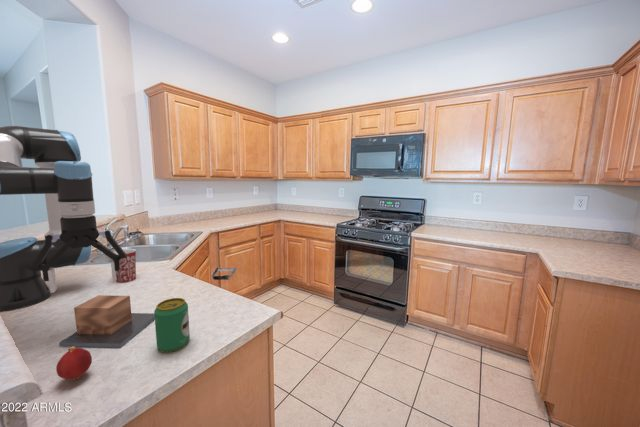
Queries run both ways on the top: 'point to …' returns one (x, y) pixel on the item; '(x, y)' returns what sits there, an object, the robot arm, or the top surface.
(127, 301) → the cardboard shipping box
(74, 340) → the boss plate
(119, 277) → the red patterned paper cup
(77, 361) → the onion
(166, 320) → the beverage can
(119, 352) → the top surface
